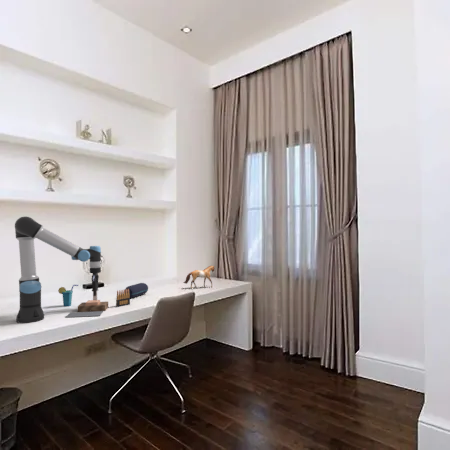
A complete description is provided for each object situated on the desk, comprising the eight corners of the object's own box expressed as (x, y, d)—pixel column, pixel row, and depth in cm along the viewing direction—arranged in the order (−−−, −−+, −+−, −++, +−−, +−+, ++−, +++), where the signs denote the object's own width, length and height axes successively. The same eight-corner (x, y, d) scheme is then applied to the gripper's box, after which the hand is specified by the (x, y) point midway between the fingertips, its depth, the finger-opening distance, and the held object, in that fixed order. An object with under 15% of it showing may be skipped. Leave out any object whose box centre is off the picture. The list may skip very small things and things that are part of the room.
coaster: (85, 305, 232) (85, 302, 232) (88, 303, 240) (88, 300, 240) (97, 305, 234) (97, 302, 234) (100, 302, 242) (100, 299, 242)
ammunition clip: (128, 304, 255) (128, 288, 255) (130, 304, 253) (130, 288, 254) (115, 306, 246) (115, 290, 247) (117, 307, 245) (117, 290, 245)
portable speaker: (139, 293, 298) (139, 281, 299) (149, 293, 295) (149, 282, 295) (122, 298, 275) (122, 286, 275) (132, 299, 271) (132, 287, 272)
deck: (77, 312, 231) (77, 306, 231) (82, 308, 242) (82, 302, 242) (105, 310, 233) (105, 305, 234) (108, 307, 245) (108, 301, 245)
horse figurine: (214, 286, 331) (214, 265, 332) (217, 287, 324) (216, 266, 324) (183, 288, 321) (183, 266, 321) (185, 289, 314) (184, 267, 314)
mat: (65, 317, 216) (65, 317, 216) (70, 313, 228) (70, 312, 228) (99, 316, 220) (99, 315, 220) (103, 311, 231) (103, 311, 231)
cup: (76, 303, 259) (76, 283, 259) (80, 304, 253) (80, 284, 254) (56, 306, 249) (56, 285, 249) (60, 307, 244) (60, 287, 244)
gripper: (98, 268, 239) (98, 301, 239) (102, 266, 252) (102, 298, 252) (87, 268, 238) (87, 302, 238) (91, 266, 251) (91, 298, 250)
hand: (95, 300), depth 245 cm, fingers closed
